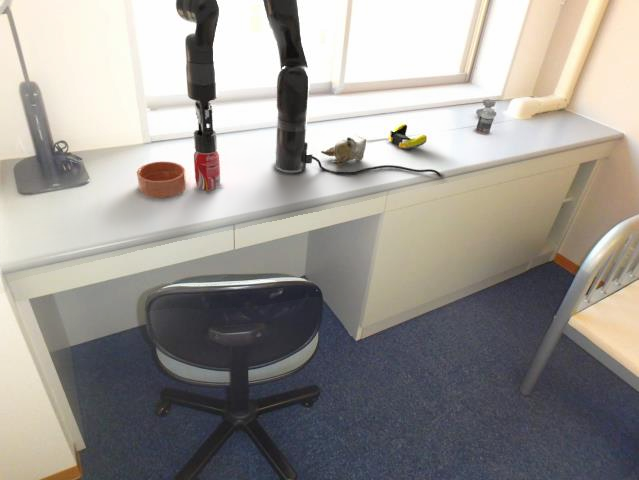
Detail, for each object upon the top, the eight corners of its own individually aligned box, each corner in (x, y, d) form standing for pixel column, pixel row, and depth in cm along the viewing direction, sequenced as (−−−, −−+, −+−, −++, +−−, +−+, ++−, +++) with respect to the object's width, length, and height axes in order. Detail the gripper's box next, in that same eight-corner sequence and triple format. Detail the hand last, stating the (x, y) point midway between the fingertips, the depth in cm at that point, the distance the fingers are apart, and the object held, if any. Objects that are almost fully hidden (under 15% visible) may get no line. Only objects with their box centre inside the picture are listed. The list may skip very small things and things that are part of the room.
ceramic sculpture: (374, 140, 149) (335, 147, 143) (371, 163, 154) (333, 171, 148) (358, 129, 156) (320, 135, 151) (356, 151, 162) (319, 158, 156)
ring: (214, 144, 127) (213, 128, 125) (218, 152, 123) (217, 136, 120) (193, 145, 125) (192, 129, 122) (197, 154, 121) (196, 137, 118)
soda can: (197, 180, 133) (194, 143, 127) (221, 181, 134) (220, 144, 127) (194, 192, 128) (191, 153, 121) (219, 193, 129) (217, 155, 122)
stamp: (483, 122, 202) (489, 104, 197) (472, 117, 207) (477, 99, 202) (496, 120, 207) (502, 102, 202) (485, 115, 211) (490, 97, 206)
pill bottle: (478, 128, 195) (484, 106, 189) (490, 132, 192) (498, 109, 187) (473, 131, 191) (480, 109, 185) (486, 135, 188) (493, 112, 183)
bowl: (182, 176, 135) (181, 159, 132) (189, 196, 126) (188, 179, 122) (138, 180, 130) (135, 163, 127) (141, 202, 121) (139, 184, 118)
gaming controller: (401, 135, 180) (382, 138, 175) (404, 122, 176) (384, 125, 172) (426, 149, 169) (406, 153, 165) (430, 136, 166) (409, 139, 162)
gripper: (183, 71, 117) (188, 129, 126) (190, 87, 106) (194, 150, 116) (212, 71, 120) (214, 128, 129) (221, 87, 109) (223, 148, 118)
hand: (205, 138), depth 122 cm, fingers open, 8 cm apart
